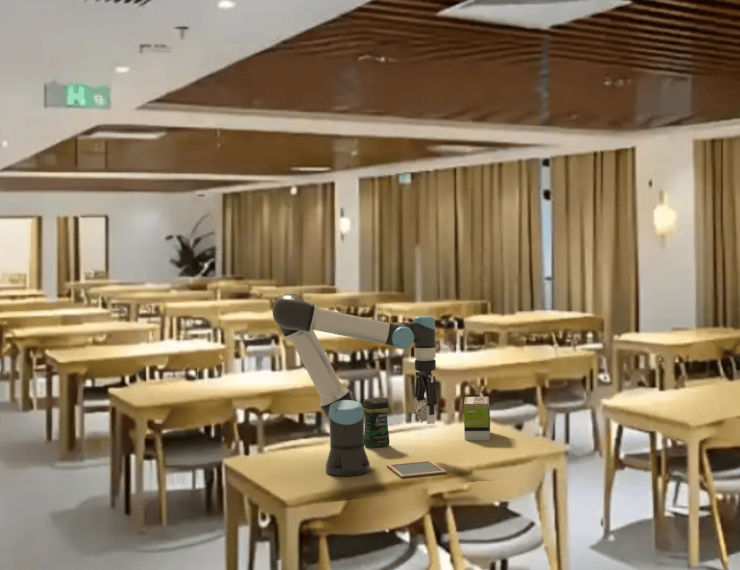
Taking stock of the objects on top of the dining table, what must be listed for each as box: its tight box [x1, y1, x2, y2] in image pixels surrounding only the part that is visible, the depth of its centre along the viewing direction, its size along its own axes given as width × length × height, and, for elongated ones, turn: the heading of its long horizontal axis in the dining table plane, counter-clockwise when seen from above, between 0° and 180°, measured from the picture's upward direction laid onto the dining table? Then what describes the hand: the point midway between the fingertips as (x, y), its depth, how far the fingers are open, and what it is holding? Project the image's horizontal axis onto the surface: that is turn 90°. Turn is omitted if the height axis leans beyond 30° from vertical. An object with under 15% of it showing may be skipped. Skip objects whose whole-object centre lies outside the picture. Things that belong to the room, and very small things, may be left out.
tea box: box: [463, 396, 491, 441], centre depth 363 cm, size 15×10×15 cm, turn 172°
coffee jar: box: [362, 397, 390, 449], centre depth 350 cm, size 10×8×19 cm
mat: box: [386, 460, 447, 479], centre depth 312 cm, size 16×16×1 cm
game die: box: [412, 400, 440, 424], centre depth 329 cm, size 9×8×10 cm
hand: (426, 420), depth 329 cm, fingers closed on game die, 9 cm apart
